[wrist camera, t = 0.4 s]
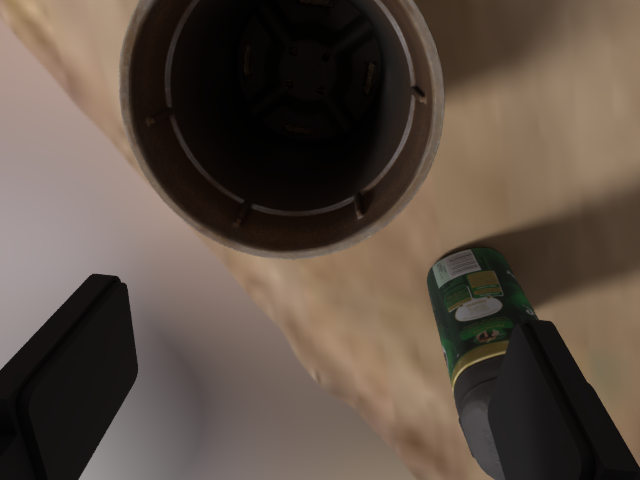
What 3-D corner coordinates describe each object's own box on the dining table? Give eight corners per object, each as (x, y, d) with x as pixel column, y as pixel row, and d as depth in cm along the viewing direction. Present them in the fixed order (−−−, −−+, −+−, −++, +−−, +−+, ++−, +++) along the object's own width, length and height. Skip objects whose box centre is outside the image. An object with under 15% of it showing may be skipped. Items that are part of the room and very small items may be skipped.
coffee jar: (525, 315, 47) (615, 489, 30) (445, 337, 49) (489, 512, 32) (501, 232, 43) (588, 378, 27) (416, 259, 45) (448, 411, 29)
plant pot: (405, 171, 41) (429, 265, 27) (220, 170, 43) (148, 258, 28) (420, -49, 34) (464, -82, 20) (196, -44, 35) (82, -71, 21)
